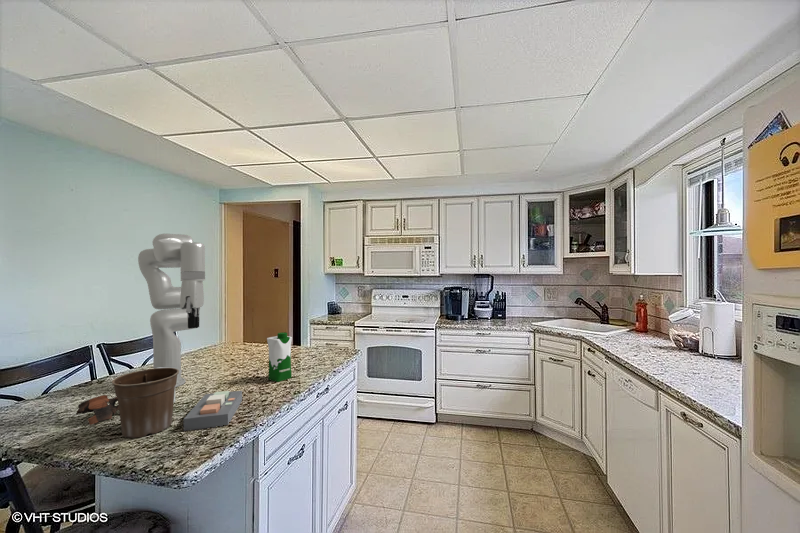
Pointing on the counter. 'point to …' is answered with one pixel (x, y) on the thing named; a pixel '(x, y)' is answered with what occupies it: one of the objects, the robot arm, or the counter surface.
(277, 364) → the milk carton
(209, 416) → the keypad
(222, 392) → the sage key
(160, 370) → the plant pot
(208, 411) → the terracotta key
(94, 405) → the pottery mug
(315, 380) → the counter surface
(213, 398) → the cream key
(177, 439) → the counter surface
